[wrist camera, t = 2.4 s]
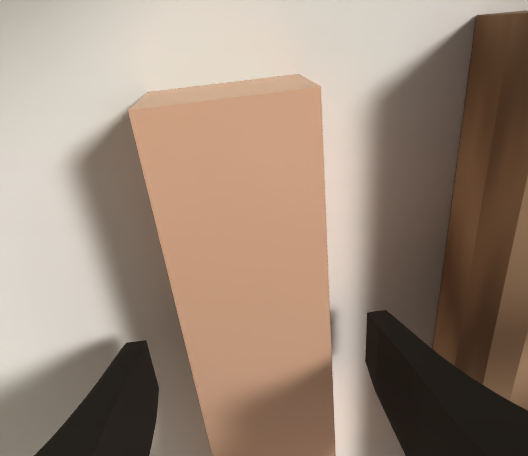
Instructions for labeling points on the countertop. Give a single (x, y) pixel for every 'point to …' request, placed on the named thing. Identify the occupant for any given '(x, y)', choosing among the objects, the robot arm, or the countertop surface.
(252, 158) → the clay strip
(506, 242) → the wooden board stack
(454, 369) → the robot arm
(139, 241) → the countertop surface
